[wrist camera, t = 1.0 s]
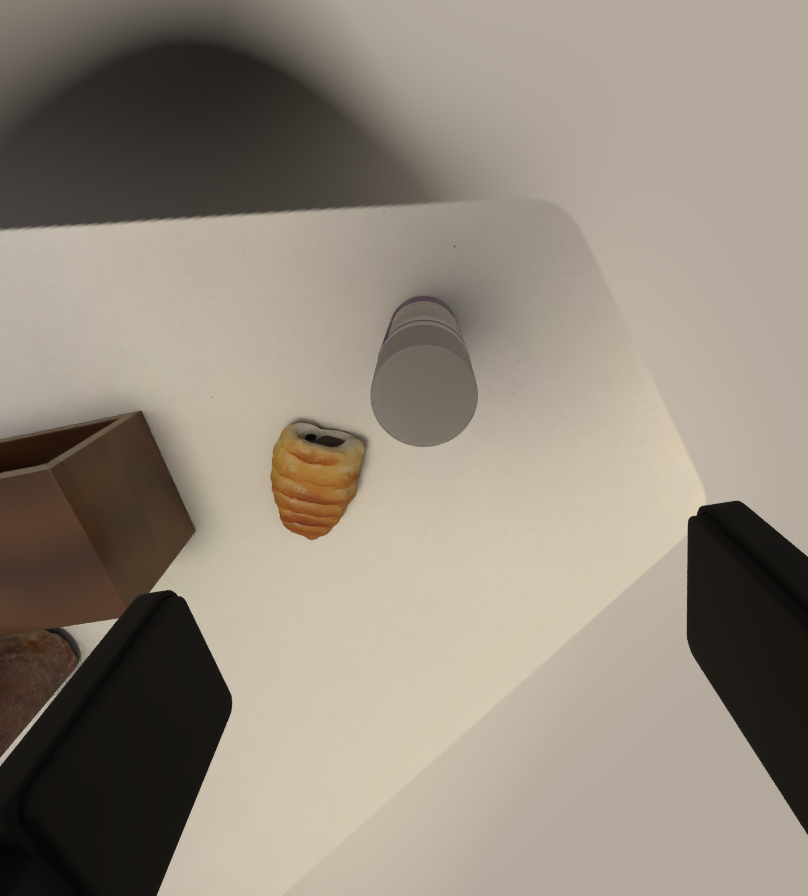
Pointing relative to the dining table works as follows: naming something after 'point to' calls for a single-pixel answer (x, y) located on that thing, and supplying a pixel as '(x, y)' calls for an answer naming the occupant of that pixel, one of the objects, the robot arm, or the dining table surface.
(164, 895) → the dining table surface
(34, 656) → the brown rounded bar
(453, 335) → the container
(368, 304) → the dining table surface
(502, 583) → the dining table surface
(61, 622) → the shelf
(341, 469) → the pastry
